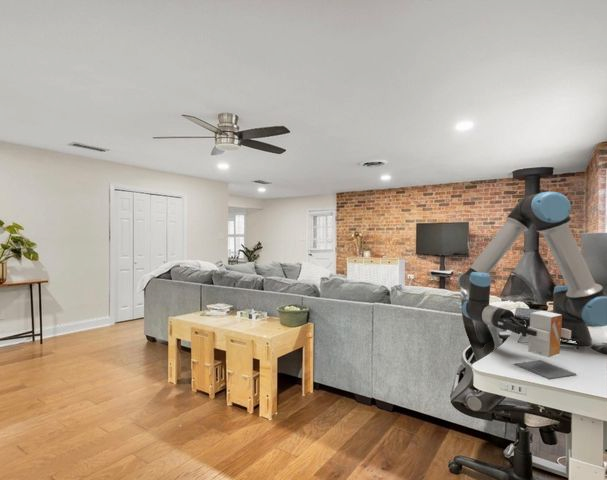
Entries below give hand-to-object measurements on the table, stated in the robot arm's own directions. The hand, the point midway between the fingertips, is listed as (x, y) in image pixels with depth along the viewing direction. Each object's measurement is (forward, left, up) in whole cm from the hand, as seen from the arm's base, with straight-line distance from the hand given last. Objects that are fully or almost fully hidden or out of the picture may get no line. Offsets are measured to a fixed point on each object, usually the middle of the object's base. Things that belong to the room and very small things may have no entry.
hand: (559, 335), depth 110 cm
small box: (0, -5, -7) cm, 9 cm away
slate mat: (0, -4, -13) cm, 13 cm away
